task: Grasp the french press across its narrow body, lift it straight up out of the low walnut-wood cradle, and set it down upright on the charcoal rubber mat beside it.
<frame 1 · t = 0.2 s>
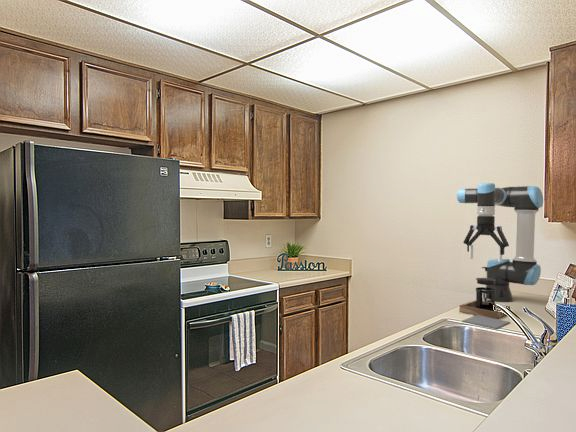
hand: (485, 260, 196), 28 cm above the counter, fingers open, 13 cm apart
mat: (486, 322, 189), on the counter
cradle: (484, 312, 206), on the counter
french press: (484, 313, 206), resting in cradle
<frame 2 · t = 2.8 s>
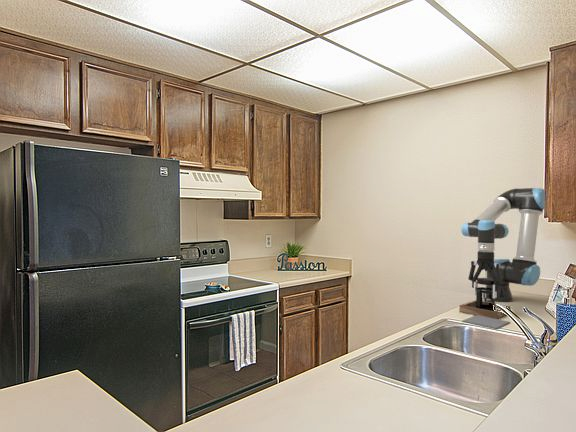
hand: (484, 296, 206), 8 cm above the counter, fingers closed on french press, 9 cm apart
french press: (484, 313, 206), resting in cradle, touching gripper
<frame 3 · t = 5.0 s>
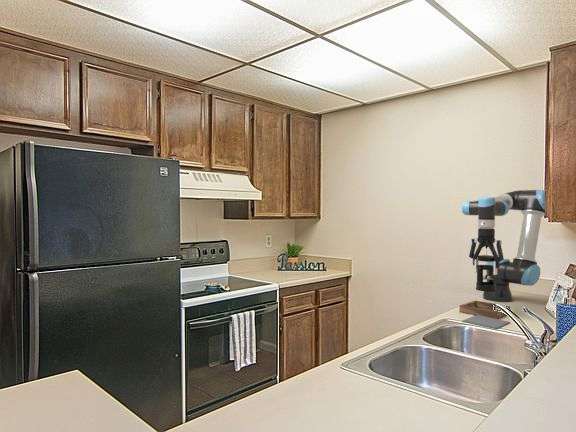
hand: (485, 273, 206), 20 cm above the counter, fingers closed on french press, 9 cm apart
french press: (485, 290, 206), point 11 cm above the counter, touching gripper
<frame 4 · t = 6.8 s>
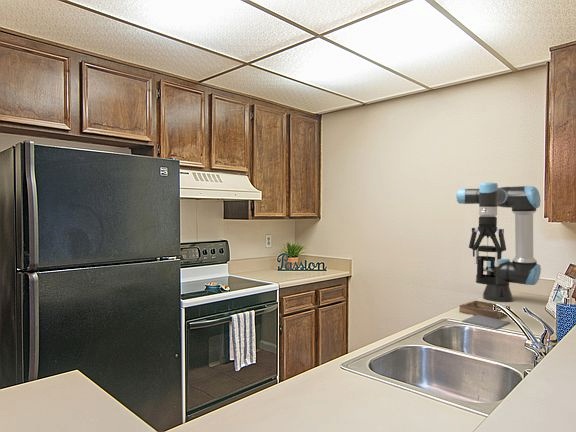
hand: (486, 265, 190), 26 cm above the counter, fingers closed on french press, 9 cm apart
french press: (486, 283, 190), point 18 cm above the counter, touching gripper
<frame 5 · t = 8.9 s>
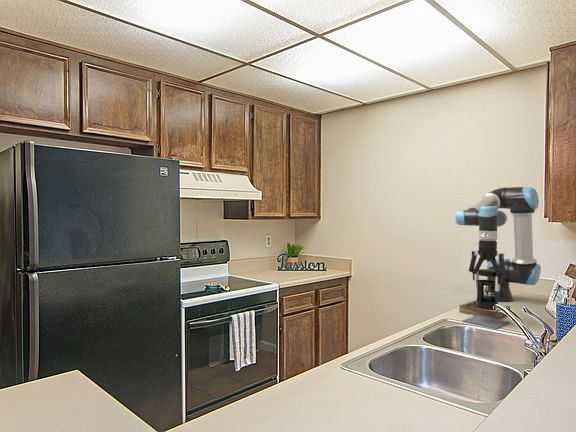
hand: (486, 289, 188), 15 cm above the counter, fingers closed on french press, 9 cm apart
french press: (486, 307, 188), point 7 cm above the counter, touching gripper
when the fingers open (10 cm above the counter, at t = 10.8 s): french press drops 1 cm, resting on mat.
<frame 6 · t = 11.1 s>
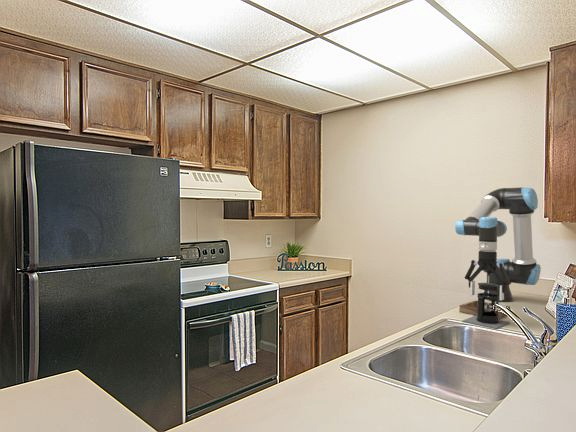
hand: (486, 297, 188), 12 cm above the counter, fingers open, 12 cm apart
french press: (486, 321, 188), resting on mat
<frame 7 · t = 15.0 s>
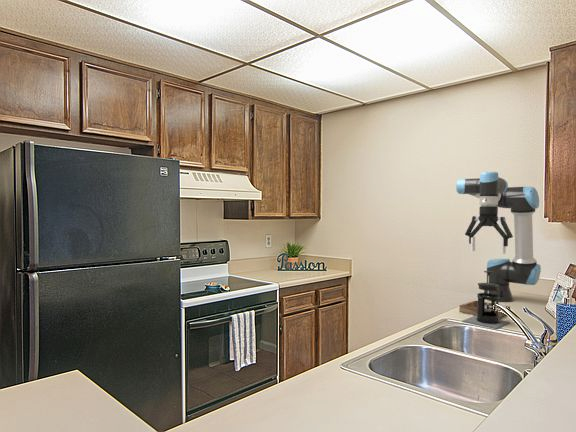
hand: (487, 252, 188), 32 cm above the counter, fingers open, 13 cm apart
nothing on the counter moved.
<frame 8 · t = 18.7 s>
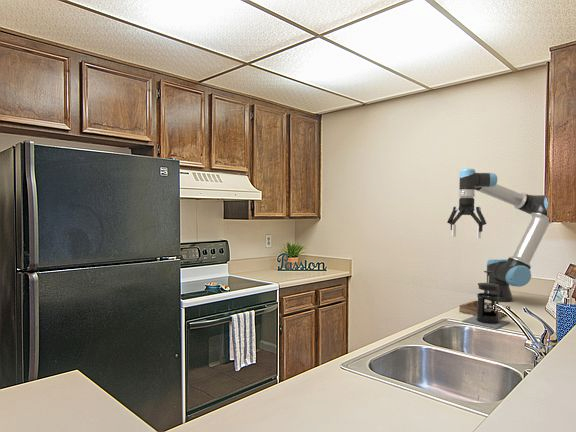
hand: (465, 237, 221), 37 cm above the counter, fingers open, 13 cm apart
nothing on the counter moved.
at the end: french press inside the target area on the mat (0.3 cm from its centre), point 0.4 cm above the mat's base; french press tilted 0°; the gripper is holding nothing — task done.
